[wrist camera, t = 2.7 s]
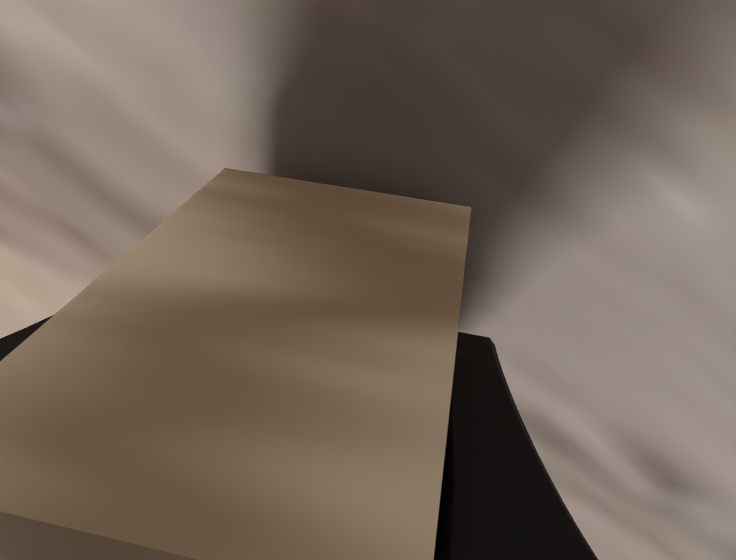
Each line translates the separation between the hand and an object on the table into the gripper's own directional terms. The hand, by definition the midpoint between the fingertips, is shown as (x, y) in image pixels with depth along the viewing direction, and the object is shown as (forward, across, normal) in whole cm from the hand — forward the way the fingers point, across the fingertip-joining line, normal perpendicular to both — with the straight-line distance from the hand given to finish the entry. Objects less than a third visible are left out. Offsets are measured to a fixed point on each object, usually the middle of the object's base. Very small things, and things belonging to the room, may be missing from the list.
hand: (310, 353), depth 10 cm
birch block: (+2, 0, 0) cm, 2 cm away
